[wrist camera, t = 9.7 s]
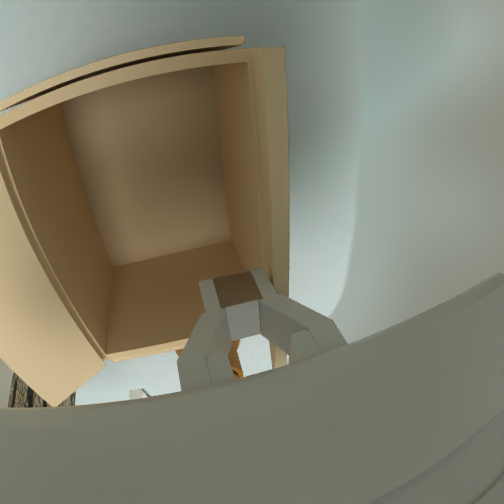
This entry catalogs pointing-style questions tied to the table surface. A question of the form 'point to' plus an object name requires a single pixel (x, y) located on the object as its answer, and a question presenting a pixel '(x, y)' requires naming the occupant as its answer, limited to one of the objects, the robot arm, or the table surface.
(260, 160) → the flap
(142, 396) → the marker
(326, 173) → the table surface
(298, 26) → the table surface
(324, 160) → the table surface
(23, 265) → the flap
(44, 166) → the carton
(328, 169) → the table surface
